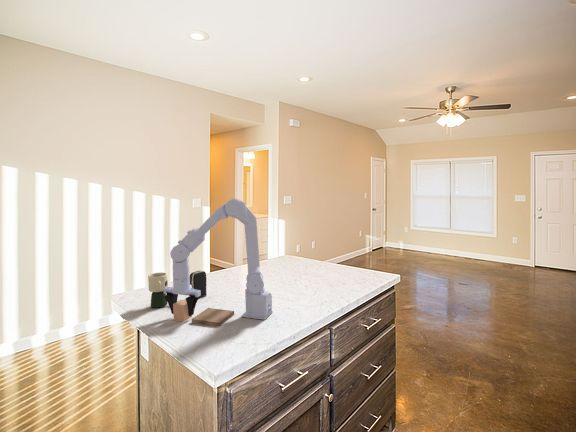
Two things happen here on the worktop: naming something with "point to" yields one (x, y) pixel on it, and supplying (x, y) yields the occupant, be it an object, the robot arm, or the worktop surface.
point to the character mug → (157, 288)
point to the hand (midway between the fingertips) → (182, 314)
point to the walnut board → (213, 317)
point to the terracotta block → (181, 311)
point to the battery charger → (199, 282)
